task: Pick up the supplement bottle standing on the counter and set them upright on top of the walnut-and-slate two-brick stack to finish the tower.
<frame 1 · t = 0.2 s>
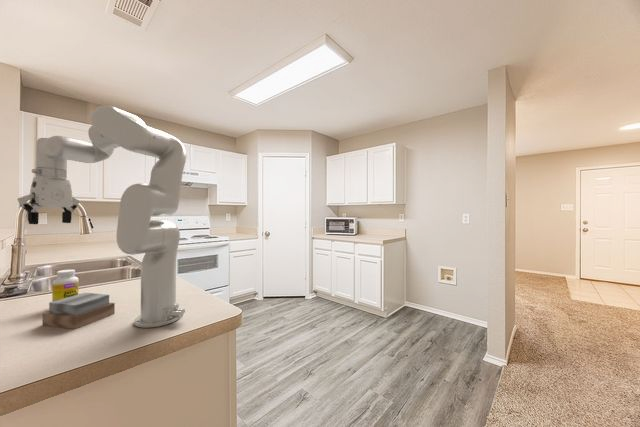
hand: (50, 223, 92), 30 cm above the counter, tool pointing down, fingers open, 9 cm apart
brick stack: (80, 319, 83), on the counter
supplement bottle: (65, 307, 93), on the counter
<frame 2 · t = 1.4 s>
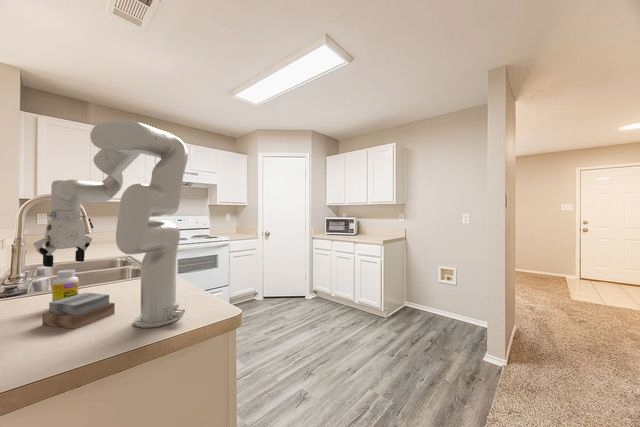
hand: (64, 263, 93), 15 cm above the counter, tool pointing down, fingers open, 9 cm apart
nothing on the counter moved.
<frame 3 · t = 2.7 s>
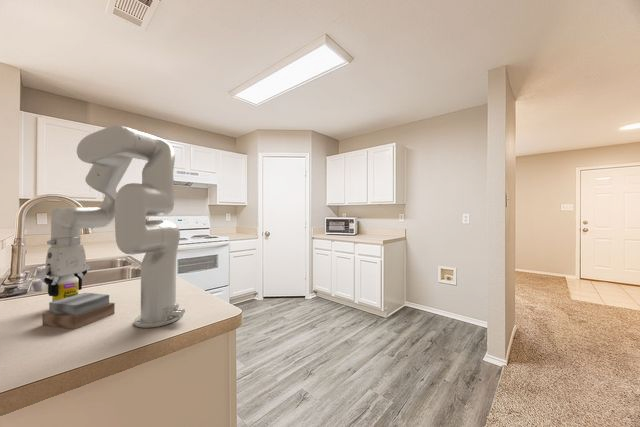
hand: (65, 292, 93), 5 cm above the counter, tool pointing down, fingers closed on supplement bottle, 6 cm apart
supplement bottle: (65, 307, 93), on the counter, touching gripper
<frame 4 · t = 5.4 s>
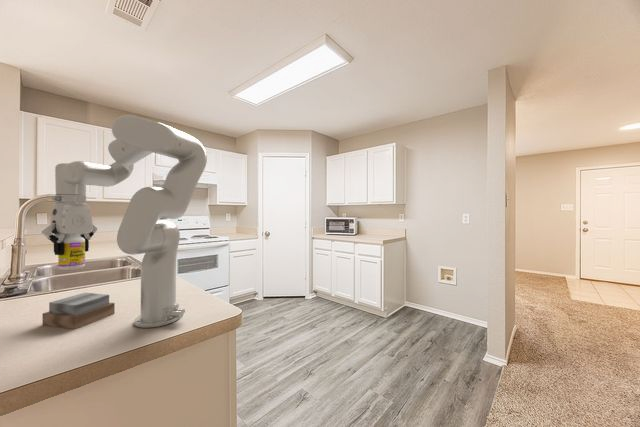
hand: (72, 252, 89), 20 cm above the counter, tool pointing down, fingers closed on supplement bottle, 6 cm apart
supplement bottle: (72, 268, 89), point 14 cm above the counter, touching gripper
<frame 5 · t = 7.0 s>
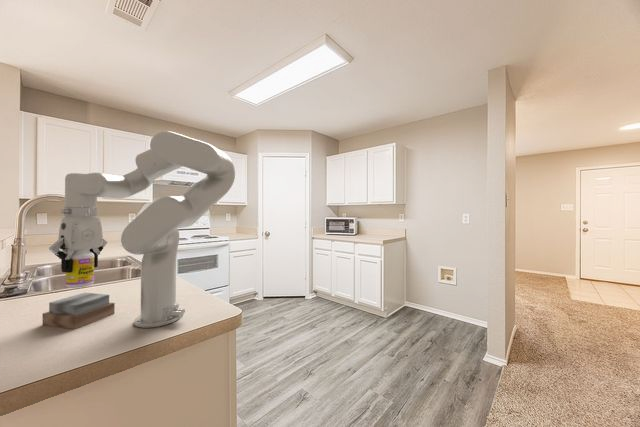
hand: (80, 269, 83), 16 cm above the counter, tool pointing down, fingers closed on supplement bottle, 6 cm apart
supplement bottle: (80, 286, 83), point 10 cm above the counter, touching gripper
when the fingers open (13 cm above the counter, at t = 8.1 s): supplement bottle stays where it is, resting on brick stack.
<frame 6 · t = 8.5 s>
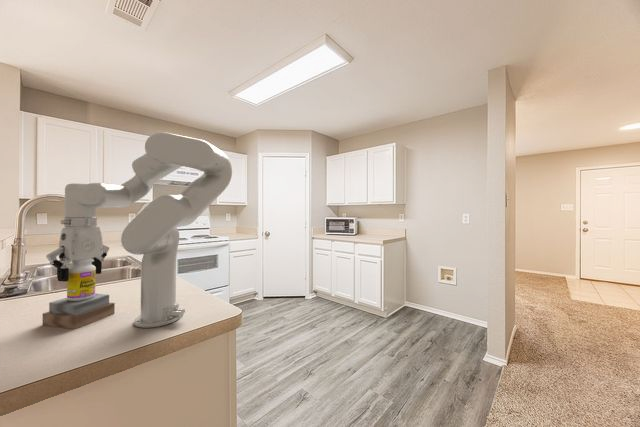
hand: (80, 277, 83), 13 cm above the counter, tool pointing down, fingers open, 9 cm apart
supplement bottle: (81, 299, 83), point 6 cm above the counter, touching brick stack
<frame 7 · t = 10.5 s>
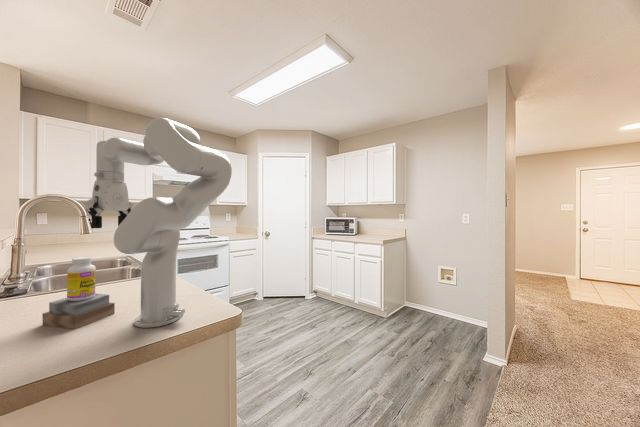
hand: (110, 227, 91), 29 cm above the counter, tool pointing down, fingers open, 9 cm apart
nothing on the counter moved.
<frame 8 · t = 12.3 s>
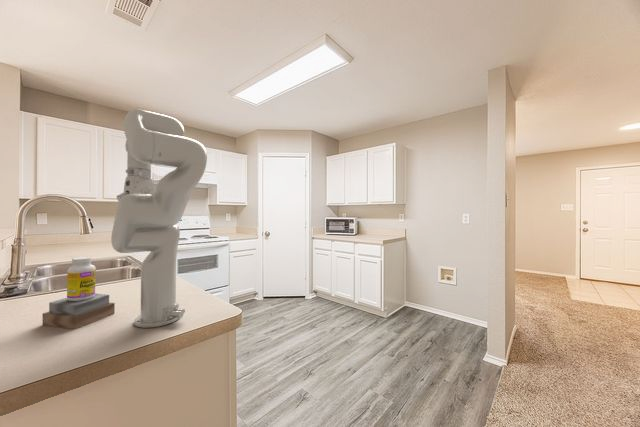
hand: (138, 218, 101), 31 cm above the counter, tool pointing down, fingers open, 9 cm apart
nothing on the counter moved.
at the end: supplement bottle 0.2 cm off-centre on the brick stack, point 6.3 cm above the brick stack's base; supplement bottle tilted 0°; the gripper is holding nothing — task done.
